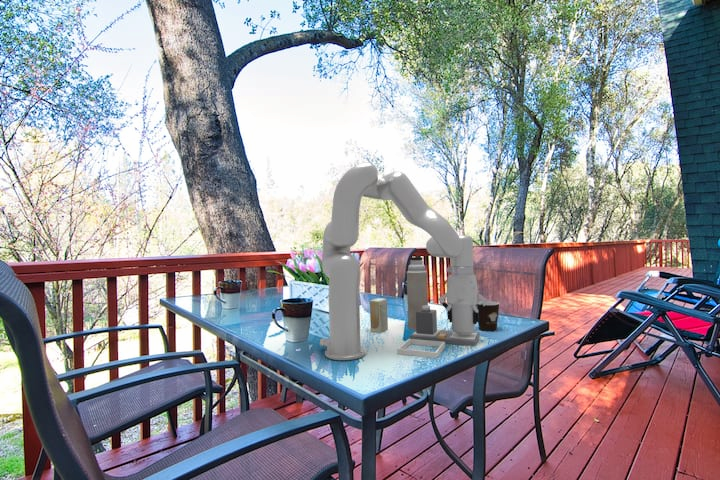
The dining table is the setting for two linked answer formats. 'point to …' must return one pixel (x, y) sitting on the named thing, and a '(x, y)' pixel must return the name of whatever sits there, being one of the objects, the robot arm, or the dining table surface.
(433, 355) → the tray
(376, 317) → the skincare box
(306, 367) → the dining table surface
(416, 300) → the thermos bottle
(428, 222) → the robot arm
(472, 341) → the grey flat piece
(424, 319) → the plug block
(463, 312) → the can
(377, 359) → the dining table surface
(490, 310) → the coffee mug
